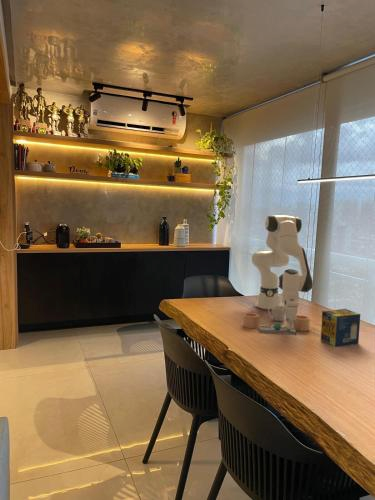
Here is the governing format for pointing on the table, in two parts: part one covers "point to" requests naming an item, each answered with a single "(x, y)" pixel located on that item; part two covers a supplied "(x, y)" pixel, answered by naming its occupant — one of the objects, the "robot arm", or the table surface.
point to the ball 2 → (287, 326)
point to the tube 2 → (301, 323)
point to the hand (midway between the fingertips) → (289, 324)
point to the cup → (277, 313)
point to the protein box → (340, 327)
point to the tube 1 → (251, 320)
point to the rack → (272, 330)
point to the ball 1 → (277, 325)
